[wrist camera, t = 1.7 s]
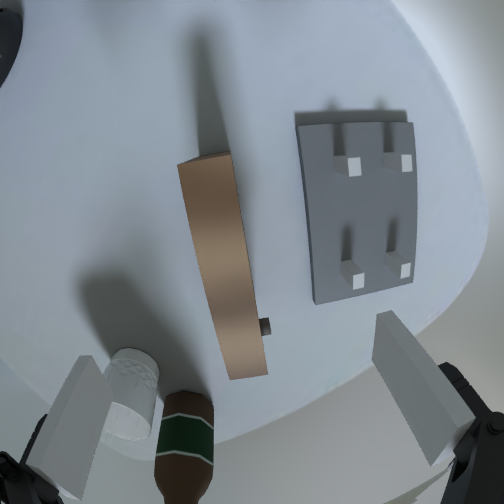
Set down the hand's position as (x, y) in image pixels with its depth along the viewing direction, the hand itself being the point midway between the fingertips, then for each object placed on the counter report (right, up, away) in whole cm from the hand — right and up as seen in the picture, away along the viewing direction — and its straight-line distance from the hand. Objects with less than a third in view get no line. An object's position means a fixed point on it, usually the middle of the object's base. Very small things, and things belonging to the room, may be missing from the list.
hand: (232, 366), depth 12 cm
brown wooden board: (-1, +7, +17) cm, 19 cm away
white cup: (-15, -10, +23) cm, 29 cm away
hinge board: (+13, +9, +18) cm, 24 cm away
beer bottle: (-9, -18, +27) cm, 33 cm away
